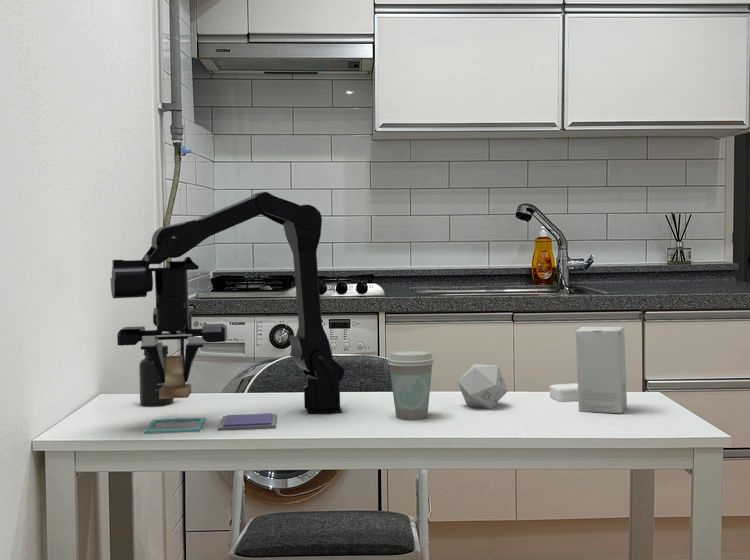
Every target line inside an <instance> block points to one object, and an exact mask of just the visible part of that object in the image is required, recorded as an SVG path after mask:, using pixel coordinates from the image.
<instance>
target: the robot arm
mask: <svg viewBox="0 0 750 560" xmlns="http://www.w3.org/2000/svg"><path fill="white" fill-rule="evenodd" d="M258 216H263V217H265V218H267V219H269V220H271V221H272V222H274V223H277V224H279V225H281V226H283V230H284V234H285V238H286V240H287V242H288V245H289V247H290V250H291V252H292V257H293V269H294V283H295V292H296V293H295V295H296V296H295V297H296V308H297V318H298V327H297V330H296V335H288V336H289V343H290V350H291V351H290V354H289V356H290V357H291V358H293V360H294V363H295V365H296V366H297V367H298V368H300V369H302V372H303V375H304V376H305V377H306V385H304V386H303V395H304V396H303V401H304V405H303V406H304V409H305V410H306V413H307V414H323V413H341V412H342V407H341V386H340V384H341V383H340V382H341V381H342V380H343V378H344V374H345V373H346V372H345V369H344V367H342V366H341V365H340V364H339V363H338V362H337V361H336V360H335V359H334V358H333V351H332V349H331V348H332V347H331V344H330V341H329V338H328V336H327V334H326V331H325V329H324V326H323V323H322V321H323V319H322V309H321V308H322V307H321V294H320V282H319V270H318V259H317V252H318V246H319V243H320V241H321V240H320V239H321V235H322V224H323V218H322V213H321V212H320V210H318V209H317V207H315V206H313V205H311V204H298V203H295V202H293V201H289V200H287V199H284V198H281V197H277V196H275V195H273V194H272V193H270V192H268V191H261V192H255V193H254V194H252V195H251V196H249V197H247V198H245V199H242V200H240V201H238V202H235V203H232V204H230V205H227V206H225V207H223V208H221V209H218V210H217V211H213V212H211V213H208V214H207V215H204V216H202V217H199V218H197V219H191V220H188V221H187V220H186V221H184V222H183V221H182V222H179V223H178V222H177V223H175V224H170V225H166V226H165V225H164V226H161V227H159V228H158V229H156V230H155V231H154V232H153V234H152V237H151V246H150V247H149V249H147V252H146V253H145V254H144V256H143V257H142V258H141V259H135V260H134V259H133V260H132V259H131V260H125V259H113V260H112V263H111V265H112V266H111V277H110V290H111V291H110V292H111V297H112V299H129V298H132V299H133V298H146V297H147V294H148V293H149V292H153V289H154V288H155V290H154V291H155V307H154V308H153V313H152V322H153V325H154V327H156V329H151V330H150V329H148V330H146V327H145V326H125V327H123V328H120V330H119V331H118V332H117V335H116V336H117V337H116V339H117V346H120V347H121V346H136V345H137V344H138V343H139V342H141V346H140V350H143V351H144V350H146V351H147V352H148V354H149V356H150V357H151V359H152V361H153V362H154V364H155V367H156V369H157V371H158V374H159V376H160V378H161V381H162V383H165V375H164V360H163V353H162V345H163V342H160V341H166V340H167V341H168V340H170V341H171V340H187V341H188V343H187V344H186V345H185V355H184V358H185V369H184V378H185V383H187V382H188V381H189V377H190V374H191V370H192V368H193V364H194V360H195V357H196V354H197V353H198V351H199V349H201V348H203V347H205V346H206V344H207V343H224V342H226V341H227V339H228V326H227V325H226V324H225V323H210V324H209V323H207V324H206V323H205V324H204V325H203V326H202V327H201V328H192V327H193V322H192V321H193V320H192V317H193V316H192V315H193V314H192V313H191V311H190V306H189V279H188V277H189V276H188V275H189V274H188V271H193V270H194V271H195V270H199V268H200V266H199V265H197V263H195V262H194V261H193V260H192V258H191V257H190V256H185V257H184V259H183V260H176V261H175V260H173V261H172V260H171V261H166V260H168V259H176V258H180V257H182V256H183V255H185V254H187V253H188V252H190V251H191V250H192V249H194V248H196V247H197V246H199V245H200V244H201V243H203V241H205V240H207V239H208V238H210V237H212V236H214V235H216V234H219V233H221V232H223V231H226V230H228V229H230V228H232V227H235V226H237V225H240V224H241V223H244V222H246V221H249V220H251V219H254V218H255V217H258ZM165 261H166V263H165V267H150V265H160V264H162V263H164V262H165ZM153 272H154V276H153ZM153 277H154V278H153ZM154 285H155V287H154Z"/></svg>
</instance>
